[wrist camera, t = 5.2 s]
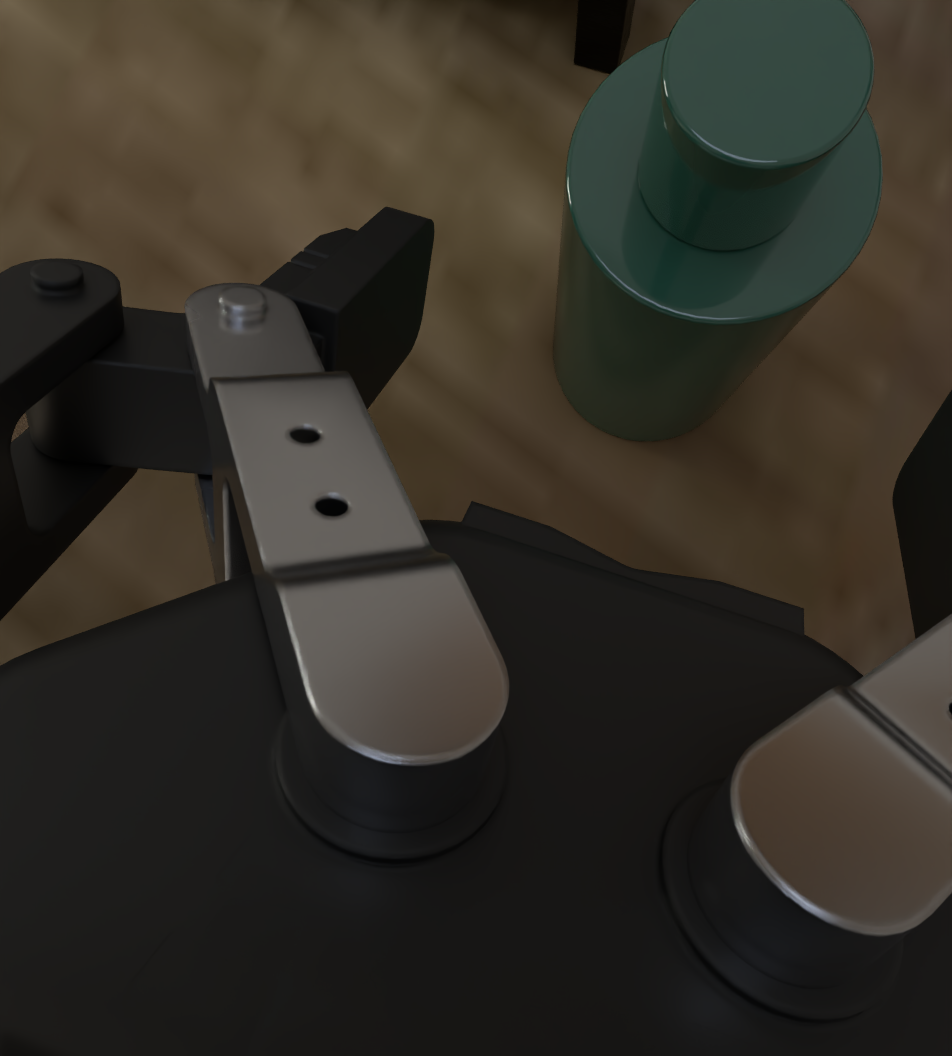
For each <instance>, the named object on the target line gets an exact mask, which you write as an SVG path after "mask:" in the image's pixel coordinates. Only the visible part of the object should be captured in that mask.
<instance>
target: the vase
mask: <svg viewBox="0 0 952 1056" xmlns="http://www.w3.org/2000/svg"><path fill="white" fill-rule="evenodd" d="M873 80H874V58H873V52H872V47H871V42H870V40H869V37H868V34H867V31H866V29H865V27H864V25H863V24H862V22H861V20H860V18H859V17H858V16H857V14H856V13H855V11H854V10H853V9H852V8H851V7H850V6H849V4H848V3H847V2H846V1H845V0H695V1H694V2H693V3H692V4H691V5H690V6H689V7H688V8H687V9H686V10H685V11H684V13H683V14H682V15H681V16H680V18H679V19H678V20H677V22H676V24H675V25H674V27H673V29H672V31H671V32H670V35H669V37H667V38H665V39H663V40H660V41H658V42H656V43H654V44H651V45H649V46H648V47H646V48H644V49H643V50H641V51H639V52H638V53H636V54H634V55H633V56H631V57H630V58H629V59H627V60H626V61H625V62H624V63H622V64H621V65H620V66H619V67H617V68H616V69H615V70H614V71H613V72H612V73H611V74H610V75H609V76H608V77H607V78H606V79H605V80H604V81H603V82H602V83H601V85H600V86H599V87H598V89H597V90H596V91H595V92H594V94H593V95H592V96H591V98H590V99H589V101H588V103H587V104H586V106H585V108H584V110H583V111H582V113H581V115H580V117H579V119H578V122H577V124H576V127H575V129H574V131H573V134H572V138H571V142H570V146H569V150H568V155H567V164H566V172H565V186H564V200H563V214H562V228H561V242H560V256H559V270H558V284H557V298H556V312H555V326H554V340H553V360H554V367H555V372H556V375H557V378H558V382H559V384H560V386H561V388H562V391H563V393H564V394H565V396H566V397H567V399H568V401H569V402H570V404H571V405H572V406H573V407H574V408H575V410H576V411H577V412H578V413H579V414H580V415H581V416H582V417H583V418H584V419H586V420H587V421H588V422H590V423H591V424H592V425H594V426H595V427H597V428H599V429H601V430H602V431H604V432H606V433H609V434H611V435H614V436H617V437H620V438H624V439H628V440H635V441H659V440H665V439H670V438H673V437H677V436H680V435H682V434H685V433H687V432H689V431H691V430H693V429H695V428H696V427H698V426H700V425H701V424H703V423H704V422H705V421H706V420H708V419H709V418H710V417H711V416H712V415H713V414H714V413H715V412H716V411H717V410H718V409H719V408H720V407H721V406H722V405H723V404H724V403H725V402H726V401H727V400H728V398H729V397H730V396H731V395H732V394H733V393H734V392H735V391H736V390H737V389H738V388H739V387H740V385H741V384H742V383H743V382H744V381H745V380H746V379H747V378H748V377H749V376H750V375H751V373H752V372H753V371H754V370H755V369H756V368H757V367H758V366H759V365H760V364H761V363H762V362H763V360H764V359H765V358H766V357H767V356H768V355H769V354H770V353H771V352H772V351H773V350H774V349H775V347H776V346H777V345H778V344H779V343H780V342H781V341H782V340H783V339H784V338H785V337H786V336H787V334H788V333H789V332H790V331H791V330H792V329H793V328H794V327H795V326H796V325H797V324H798V322H799V321H800V320H801V319H802V318H803V317H804V316H805V315H806V314H807V313H808V312H809V311H810V309H811V308H812V307H813V306H814V305H815V304H816V303H817V302H818V301H819V300H820V299H821V298H822V296H823V295H824V294H825V293H826V292H827V291H828V290H829V289H830V288H831V287H832V286H833V284H834V283H835V282H836V281H837V280H838V279H839V278H840V277H841V276H842V275H843V274H844V273H845V271H846V270H847V269H848V268H849V267H850V265H851V264H852V263H853V261H854V260H855V259H856V257H857V256H858V255H859V253H860V251H861V250H862V248H863V246H864V244H865V242H866V241H867V239H868V237H869V235H870V232H871V230H872V227H873V225H874V222H875V219H876V217H877V213H878V208H879V204H880V200H881V192H882V181H883V172H882V155H881V150H880V145H879V140H878V136H877V133H876V130H875V127H874V124H873V121H872V119H871V117H870V115H869V113H868V111H867V109H866V107H867V105H868V102H869V99H870V96H871V92H872V88H873Z"/></svg>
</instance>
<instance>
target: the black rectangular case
mask: <svg viewBox="0 0 952 1056" xmlns="http://www.w3.org/2000/svg"><path fill="white" fill-rule="evenodd" d="M634 4H635V0H578V13H577V27H576V41H575V55H574V64H577V65H580V66H584V67H588V68H592V69H595V70H599V71H603V72H607V73H612V72H613V71H614V70H615V69H616V68H617V67H619V65H620V62H621V59H622V56H623V53H624V50H625V47H626V44H627V41H628V38H629V34H630V28H631V22H632V16H633V10H634Z"/></svg>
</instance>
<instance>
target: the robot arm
mask: <svg viewBox="0 0 952 1056" xmlns="http://www.w3.org/2000/svg"><path fill="white" fill-rule="evenodd" d="M433 241H434V223H433V221H432V220H431V219H428V218H424V217H421V216H417V215H414V214H411V213H407V212H404V211H400V210H397V209H393V208H390V207H385V208H383V209H382V210H381V211H380V212H378V213H377V214H376V215H375V216H374V217H373V218H372V219H371V220H369V221H368V222H367V223H366V224H365V225H364V226H363V227H361V228H360V229H359V230H358V231H355V230H352V229H348V228H345V229H341V230H338V231H334V232H331V233H327V234H324V235H320V236H319V237H318V238H316V239H315V240H314V241H313V242H312V243H310V244H309V245H308V246H307V247H305V248H304V251H303V252H302V251H301V252H299V253H298V254H297V255H296V256H294V257H293V258H292V259H291V262H287V263H286V264H285V265H283V266H282V267H281V268H280V269H279V270H277V271H276V272H275V273H274V274H272V275H271V276H270V277H269V278H268V279H266V280H265V281H264V282H263V283H261V284H260V285H254V284H246V283H223V284H215V285H211V286H207V287H204V288H202V289H199V290H197V291H196V292H194V293H193V294H191V295H190V296H189V297H188V299H187V300H186V303H185V313H171V312H162V311H154V310H146V309H138V308H130V307H123V306H122V297H121V288H120V282H119V280H118V278H117V277H116V276H115V275H114V274H113V273H112V272H111V271H109V270H107V269H106V268H103V267H101V266H99V265H96V264H93V263H89V262H85V261H80V260H73V259H41V260H34V261H29V262H25V263H21V264H18V265H15V266H13V267H11V268H9V269H7V270H5V271H3V272H2V273H0V621H1V619H2V618H3V617H4V616H5V615H6V614H7V613H8V612H9V611H10V610H11V609H12V608H13V606H14V605H15V604H16V603H17V602H18V601H19V600H20V599H21V598H22V597H23V596H24V594H25V593H26V592H27V591H28V590H29V589H30V588H31V587H32V586H33V585H34V584H35V582H36V581H37V580H38V579H39V578H40V577H41V576H42V575H43V574H44V573H45V572H46V571H47V569H48V568H49V567H50V566H51V565H52V564H53V563H54V562H55V561H56V560H57V559H58V557H59V556H60V555H61V554H62V553H63V552H64V551H65V550H66V549H67V548H68V547H69V545H70V544H71V543H72V542H73V541H74V540H75V539H76V538H77V537H78V536H79V535H80V533H81V532H82V531H83V530H84V529H85V528H86V527H87V526H88V525H89V524H90V523H91V522H92V520H93V519H94V518H95V517H96V516H97V515H98V514H99V513H100V512H101V511H102V510H103V508H104V507H105V506H106V505H107V504H108V503H109V502H110V501H111V500H112V499H113V498H114V496H115V495H116V494H117V493H118V492H119V491H120V490H121V489H122V488H123V487H124V486H125V485H126V483H127V482H128V481H129V480H130V479H131V478H132V477H133V476H134V474H135V473H136V472H137V470H138V468H142V469H153V470H163V471H174V472H185V473H194V474H195V486H196V490H197V495H198V500H199V504H200V509H201V514H202V518H203V523H204V528H205V533H206V537H207V542H208V547H209V551H210V556H211V561H212V565H213V570H214V576H215V583H216V584H215V585H213V586H210V587H207V588H204V589H201V590H199V591H196V592H193V593H190V594H188V595H185V596H182V597H179V598H176V599H174V600H171V601H168V602H165V603H163V604H160V605H157V606H154V607H151V608H149V609H146V610H143V611H140V612H138V613H135V614H132V615H129V616H126V617H124V618H121V619H118V620H115V621H113V622H110V623H107V624H104V625H101V626H99V627H96V628H93V629H90V630H88V631H85V632H82V633H79V634H76V635H74V636H71V637H68V638H65V639H63V640H60V641H57V642H54V643H51V644H49V645H46V646H43V647H40V648H38V649H35V650H33V651H30V652H28V653H26V654H23V655H21V656H19V657H16V658H14V659H12V660H10V661H8V662H6V663H5V664H3V665H1V666H0V1056H952V390H951V392H950V393H949V395H948V396H947V398H946V399H945V401H944V402H943V404H942V406H941V407H940V409H939V410H938V412H937V413H936V415H935V416H934V418H933V420H932V421H931V423H930V424H929V426H928V427H927V429H926V430H925V432H924V434H923V435H922V437H921V438H920V440H919V441H918V443H917V444H916V446H915V448H914V449H913V451H912V452H911V454H910V455H909V457H908V458H907V460H906V462H905V463H904V465H903V467H902V469H901V471H900V473H899V475H898V478H897V481H896V484H895V487H894V491H893V509H894V515H895V520H896V526H897V532H898V538H899V544H900V550H901V556H902V561H903V567H904V573H905V579H906V585H907V591H908V597H909V602H910V608H911V614H912V620H913V626H914V632H915V638H916V640H914V641H913V642H911V643H910V644H909V645H907V646H906V647H904V648H903V649H901V650H900V651H899V652H897V653H896V654H894V655H893V656H892V657H890V658H889V659H887V660H886V661H885V662H883V663H882V664H880V665H879V666H878V667H876V668H875V669H873V670H872V671H871V672H869V673H868V674H866V675H865V676H863V675H862V674H861V673H859V672H858V671H857V670H856V669H855V668H854V667H852V666H851V665H850V664H849V663H848V662H846V661H845V660H843V659H842V658H841V657H839V656H838V655H837V654H835V653H834V652H833V651H831V650H830V649H828V648H826V647H825V646H823V645H822V644H820V643H818V642H817V641H815V640H813V639H812V638H810V637H808V636H806V635H804V609H803V608H800V607H797V606H794V605H791V604H788V603H785V602H782V601H779V600H776V599H773V598H770V597H766V596H763V595H760V594H757V593H754V592H751V591H748V590H745V589H742V588H739V587H736V586H732V585H729V584H726V583H723V582H720V581H714V580H707V579H700V578H693V577H686V576H679V575H672V574H665V573H658V572H651V571H644V570H638V569H634V568H631V567H628V566H626V565H623V564H621V563H619V562H618V561H616V560H614V559H612V558H610V557H608V556H606V555H604V554H602V553H600V552H598V551H596V550H595V549H593V548H591V547H589V546H587V545H585V544H583V543H581V542H579V541H577V540H575V539H573V538H572V537H570V536H568V535H566V534H564V533H562V532H560V531H558V530H556V529H554V528H552V527H550V526H547V525H544V524H541V523H538V522H535V521H532V520H529V519H526V518H523V517H519V516H516V515H513V514H510V513H507V512H504V511H501V510H498V509H495V508H492V507H489V506H485V505H482V504H479V503H476V502H473V501H472V502H471V504H470V506H469V508H468V510H467V512H466V514H465V516H464V518H463V520H462V522H456V521H444V520H418V518H417V515H416V513H415V511H414V509H413V507H412V505H411V503H410V501H409V498H408V496H407V494H406V492H405V490H404V488H403V486H402V483H401V481H400V479H399V477H398V475H397V473H396V471H395V469H394V466H393V464H392V462H391V460H390V458H389V456H388V454H387V452H386V449H385V447H384V445H383V443H382V441H381V439H380V437H379V435H378V432H377V430H376V428H375V426H374V424H373V422H372V420H371V417H370V415H369V413H368V411H367V409H368V408H369V406H370V405H371V404H372V403H373V401H374V400H375V399H376V397H377V396H378V395H379V393H380V392H381V391H382V389H383V388H384V387H385V385H386V384H387V383H388V381H389V380H390V379H391V377H392V376H393V375H394V373H395V372H396V371H397V369H398V368H399V367H400V365H401V364H402V363H403V361H404V360H405V359H406V357H407V356H408V355H409V353H410V352H411V350H412V348H413V346H414V344H415V341H416V338H417V336H418V332H419V329H420V325H421V321H422V316H423V309H424V302H425V295H426V289H427V282H428V275H429V268H430V261H431V254H432V248H433ZM25 412H26V416H27V421H28V426H29V428H28V429H26V430H25V431H24V432H23V433H22V434H21V435H19V436H18V437H17V438H16V439H15V440H14V441H12V442H11V439H12V434H13V431H14V429H15V426H16V424H17V422H18V421H19V419H20V418H21V416H22V415H23V414H24V413H25Z"/></svg>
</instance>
